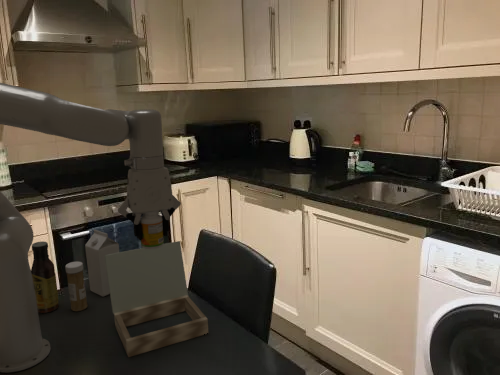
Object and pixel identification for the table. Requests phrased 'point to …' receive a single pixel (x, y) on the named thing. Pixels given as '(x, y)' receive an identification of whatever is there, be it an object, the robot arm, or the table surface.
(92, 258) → the milk carton
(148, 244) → the supplement bottle
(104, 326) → the table surface
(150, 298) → the panel
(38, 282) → the sauce bottle
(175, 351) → the table surface
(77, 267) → the sprinkles bottle
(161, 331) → the brown wooden tray
